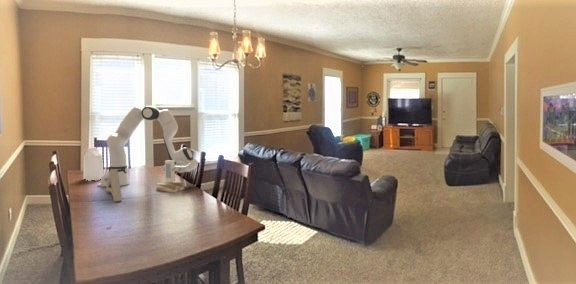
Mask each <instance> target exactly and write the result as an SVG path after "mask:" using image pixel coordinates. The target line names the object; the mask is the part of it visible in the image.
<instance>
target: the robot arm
mask: <svg viewBox="0 0 576 284" xmlns="http://www.w3.org/2000/svg"><path fill="white" fill-rule="evenodd" d="M143 120H146V121H149V122H153V121H158V122H159V124H160V126H161V128H162V130H163V134H162V139H163V142H164V145H165V148H166V152H167V155H168V160H174V164H175V168H173V169H172V171H175V172H178V173H180V174H182V173H191V172H192V171H193V170H195V169H196V168H197V166H198V160H197V159H196V158H195V157H194V155H193V151H192V150H191V149H190V148H188V147H186V146H184V147H182V148H180V149H179V150H176V149H175V146H174V143H173V138H174V137H175V136H176V134H177V133H178V131H179V125H178V122H177V120H176V118H175V117H174V115H173V114H172V112H171V111H170V110H169V109H162V110H160V108H159V107H157V106H155V105H146V106H144V107H141V106H138V105H137V106H133V108H131V110H129V112H128V113H127V114H126V116H124V118H123V120H122V121H121V122H120V124H119V126H118V128H117V129H116V131H115V132H114V133H113V134H109V136H108V137H107V139H106V145H107V148H108V152H109V158H110V159H109V161H110V166H109V167H107V170H108V171H107V172H106V173H104V175H103V176H102V177H101V180H100V182H98V183H97V187H107V182H108V177H109V172H110V170H111V169H117V170H118V177H119V184H120V187H121V186H127V185H130V180H129V175H128V165H127V155H126V151H125V145H126V144H127V143H128V142H129V140H130V138H131V137H132V135H133V133H134V132H135V130H137V128H138V126H139V125H140V124H141V122H142V121H143ZM162 170H163V171H165V164H164V165H163V166H162Z"/></svg>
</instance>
